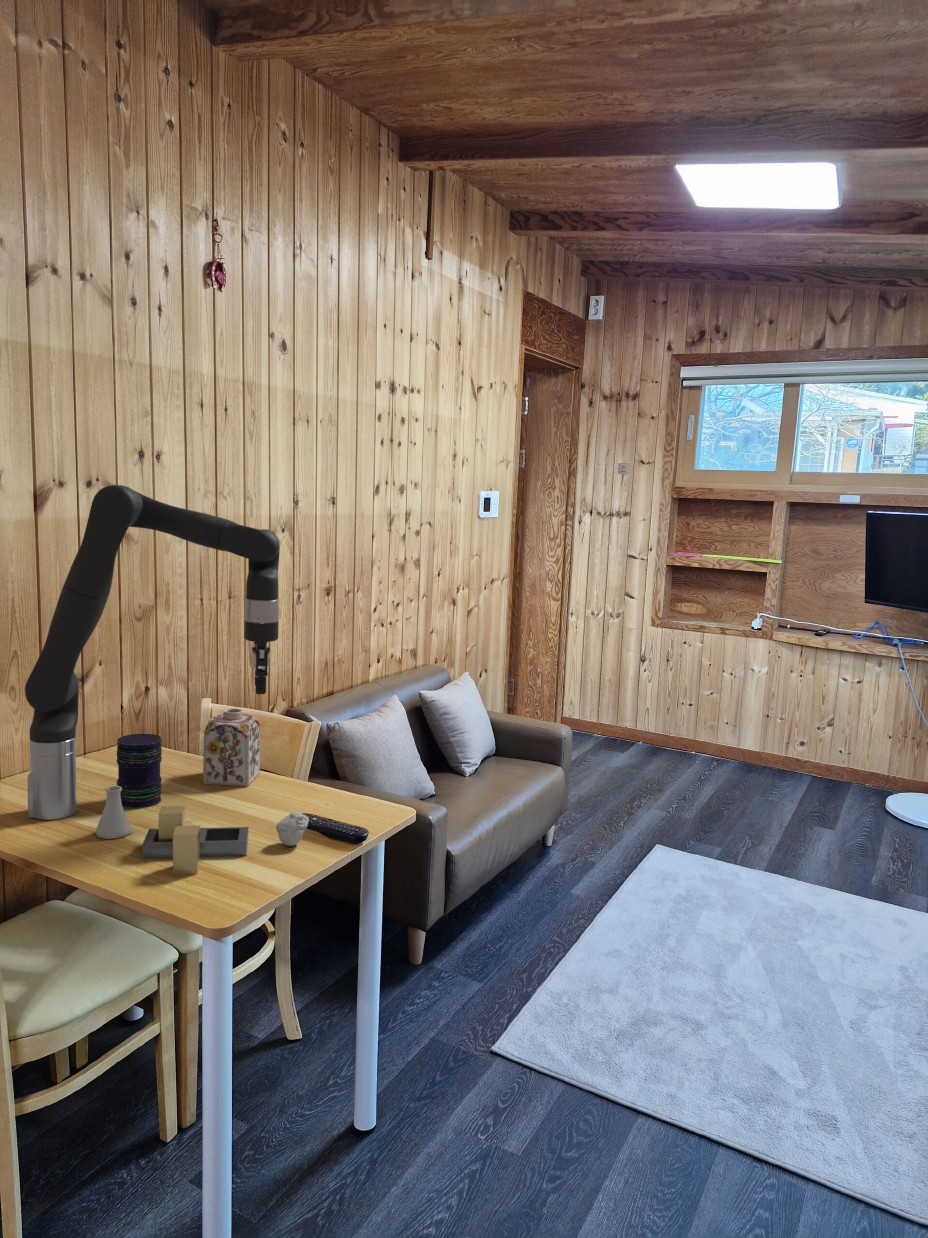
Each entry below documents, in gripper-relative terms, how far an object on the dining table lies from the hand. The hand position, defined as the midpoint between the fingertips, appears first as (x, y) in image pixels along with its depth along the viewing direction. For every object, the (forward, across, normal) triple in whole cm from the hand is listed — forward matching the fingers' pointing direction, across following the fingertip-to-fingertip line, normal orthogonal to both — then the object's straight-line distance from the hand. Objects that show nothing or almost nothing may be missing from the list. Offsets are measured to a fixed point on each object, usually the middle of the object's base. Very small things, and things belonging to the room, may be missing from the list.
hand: (260, 689), depth 203 cm
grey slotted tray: (+29, +21, -13) cm, 38 cm away
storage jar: (+29, -10, -27) cm, 40 cm away
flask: (+29, +10, -30) cm, 43 cm away
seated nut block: (+28, +21, -18) cm, 39 cm away
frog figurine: (+29, +21, +6) cm, 36 cm away
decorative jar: (+29, -24, -6) cm, 38 cm away
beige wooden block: (+29, +31, -14) cm, 45 cm away
